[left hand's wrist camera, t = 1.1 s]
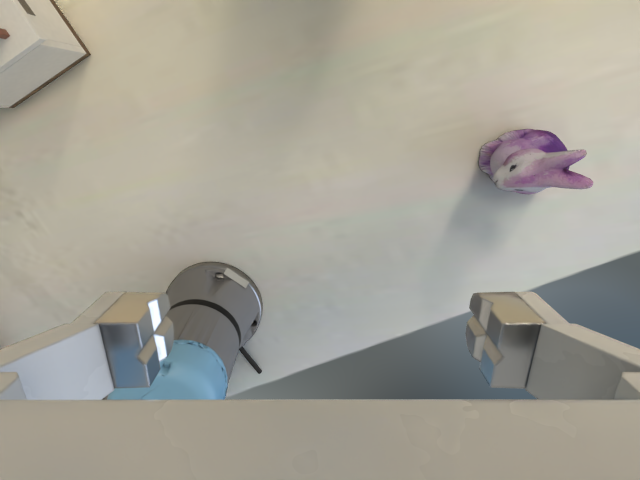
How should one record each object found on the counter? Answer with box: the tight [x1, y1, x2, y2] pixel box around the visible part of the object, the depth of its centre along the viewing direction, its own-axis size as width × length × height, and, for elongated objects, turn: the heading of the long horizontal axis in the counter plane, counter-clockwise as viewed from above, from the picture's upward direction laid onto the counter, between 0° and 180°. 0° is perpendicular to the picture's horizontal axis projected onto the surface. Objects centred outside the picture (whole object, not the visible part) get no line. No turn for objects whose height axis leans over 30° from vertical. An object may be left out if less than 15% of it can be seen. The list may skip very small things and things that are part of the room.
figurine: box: [479, 129, 593, 194], centre depth 46 cm, size 9×10×15 cm
